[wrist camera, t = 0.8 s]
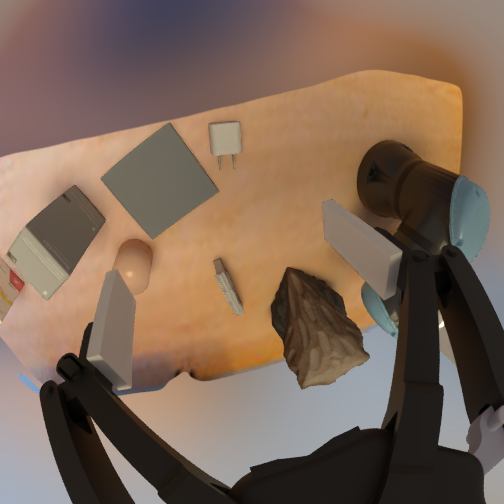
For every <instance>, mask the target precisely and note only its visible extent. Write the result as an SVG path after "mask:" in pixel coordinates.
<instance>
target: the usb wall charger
mask: <svg viewBox="0 0 504 504" xmlns="http://www.w3.org/2000/svg"><path fill="white" fill-rule="evenodd" d="M208 126H209V137H210V148H211V153H212V155H213V156H218V159H219V169H220V171H221V163H220V155H228V154H232V155H233V167H234V169H235V157H234V154H237V153H242V146H241V131H240V122H238V121H229V122H219V123H210V124H208Z"/></svg>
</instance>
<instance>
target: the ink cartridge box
mask: <svg viewBox="0 0 504 504" xmlns="http://www.w3.org/2000/svg"><path fill="white" fill-rule="evenodd" d="M23 286H24V283H23V282H22V281H21V280H20V279H19V278H18V277H17V276H16V275H15V274H14V272H13V271H12V270H11V269H10V268H9V267H8V266H7V265H6V264H5V263H4V261H3V260H2V259H1V258H0V325H1V323H2V321H3V319H4V318H5V316H6V314H7V312H8V311H9V309H10V307H11V306H12V304H13V302H14V300H15V299H16V297H17V296H18V294H19V292H20V291H21V289H22V287H23Z"/></svg>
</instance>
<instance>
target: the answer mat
mask: <svg viewBox="0 0 504 504" xmlns="http://www.w3.org/2000/svg"><path fill="white" fill-rule="evenodd" d="M100 179H101V180H102V181H103V183H104V184H105V185H106V186H107V187H108V189H109V190H110V191H111V192H112V194H113V195H114V196H115V197H116V198H117V200H118V201H119V202H120V203H121V204H122V205H123V207H124V208H125V209H126V210H127V211H128V213H129V214H130V215H131V216H132V217H133V218H134V219H135V221H136V222H137V223H138V224H139V225H140V226H141V227H142V229H143V230H144V231H145V232H146V233H147V234H148V235H149V236H150V238H151V239H152V240H153V239H154V238H155V237H157V236H158V235H159V234H161V233H162V232H163V231H165V230H166V229H167V228H169V227H170V226H171V225H173V224H174V223H175V222H177V221H178V220H179V219H181V218H182V217H184V216H185V215H186V214H188V213H189V212H190V211H192V210H193V209H195V208H196V207H198V206H199V205H200V204H202V203H203V202H205V201H206V200H207V199H209V198H210V197H212V196H213V195H215V194H216V193H218V192H219V191H218V189H217V188H216V187H215V185H214V184H213V182H212V181H211V180H210V178H209V177H208V175H207V174H206V173H205V171H204V170H203V168H202V167H201V166H200V164H199V163H198V162H197V160H196V159H195V157H194V156H193V155H192V153H191V152H190V150H189V149H188V148H187V146H186V145H185V143H184V142H183V141H182V139H181V138H180V137H179V135H178V134H177V132H176V131H175V130H174V128H173V127H172V126H171V124H170V123H168V124H166V125H165V126H164V127H162V128H161V129H160V130H158V131H157V132H156V133H154V134H153V135H152V136H150V137H149V138H148V139H146V140H145V141H144V142H143V143H141V144H140V145H139V146H137V147H136V148H135V149H134V150H133V151H131V152H130V153H129V154H128V155H127V156H125V157H124V158H123V159H122V160H121V161H119V162H118V163H117V164H116V165H115V166H114V167H113V168H111V169H110V170H109V171H108V172H107V173H106V174H105V175H104V176H103V177H102V178H100Z"/></svg>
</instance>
